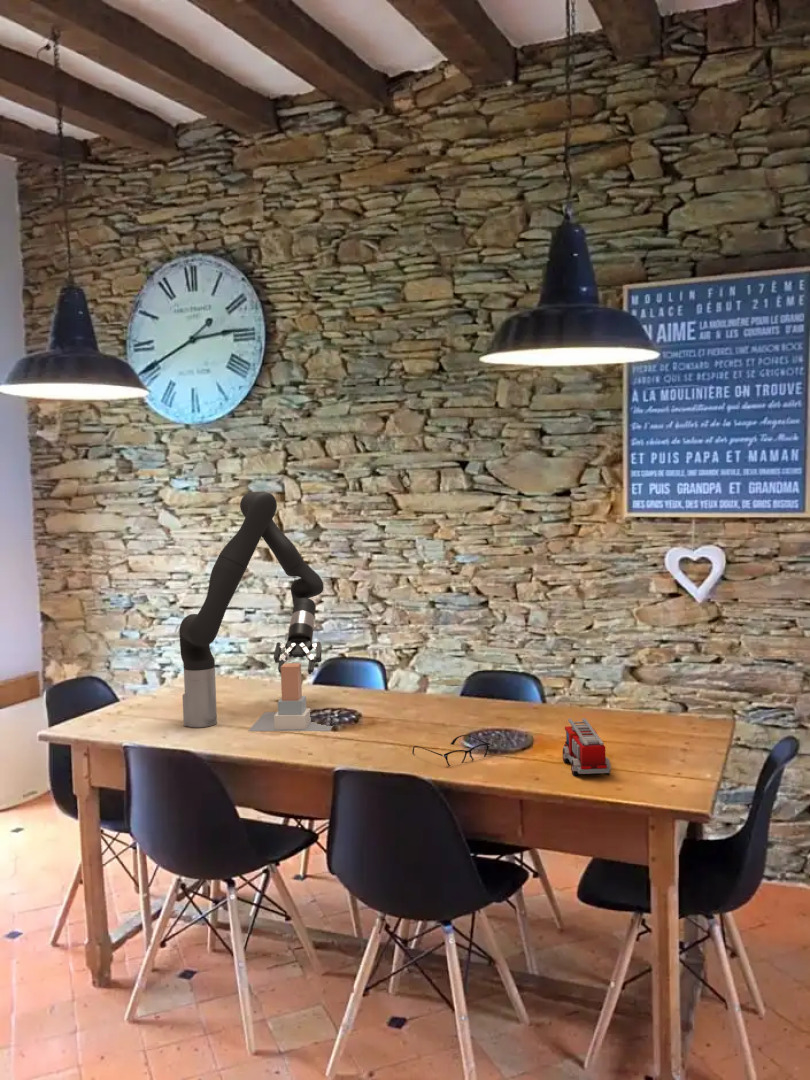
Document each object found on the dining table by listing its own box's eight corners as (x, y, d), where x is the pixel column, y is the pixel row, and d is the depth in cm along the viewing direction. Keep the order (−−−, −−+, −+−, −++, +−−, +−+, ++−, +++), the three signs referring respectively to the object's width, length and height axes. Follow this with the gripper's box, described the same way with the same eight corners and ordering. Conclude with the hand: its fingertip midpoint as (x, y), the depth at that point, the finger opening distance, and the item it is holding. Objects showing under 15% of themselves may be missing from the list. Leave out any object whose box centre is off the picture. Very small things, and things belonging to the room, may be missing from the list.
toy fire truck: (594, 756, 240) (594, 718, 239) (613, 779, 221) (612, 738, 221) (560, 757, 240) (559, 719, 239) (576, 780, 221) (575, 739, 220)
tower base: (274, 729, 270) (273, 702, 270) (280, 721, 279) (280, 695, 279) (305, 729, 270) (304, 702, 269) (310, 721, 278) (309, 695, 278)
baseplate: (247, 733, 269) (247, 731, 269) (264, 714, 291) (264, 712, 291) (330, 733, 268) (330, 730, 267) (341, 714, 289) (340, 711, 289)
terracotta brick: (281, 700, 272) (280, 666, 271) (285, 696, 277) (284, 663, 276) (298, 700, 271) (297, 666, 271) (301, 696, 276) (300, 663, 276)
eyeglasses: (444, 769, 233) (443, 754, 233) (406, 755, 246) (406, 740, 245) (493, 757, 243) (493, 741, 242) (455, 744, 255) (454, 729, 255)
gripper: (276, 622, 288) (269, 666, 277) (322, 621, 286) (317, 665, 276) (281, 636, 293) (274, 680, 283) (325, 635, 292) (320, 679, 281)
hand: (295, 672), depth 279 cm, fingers open, 8 cm apart
